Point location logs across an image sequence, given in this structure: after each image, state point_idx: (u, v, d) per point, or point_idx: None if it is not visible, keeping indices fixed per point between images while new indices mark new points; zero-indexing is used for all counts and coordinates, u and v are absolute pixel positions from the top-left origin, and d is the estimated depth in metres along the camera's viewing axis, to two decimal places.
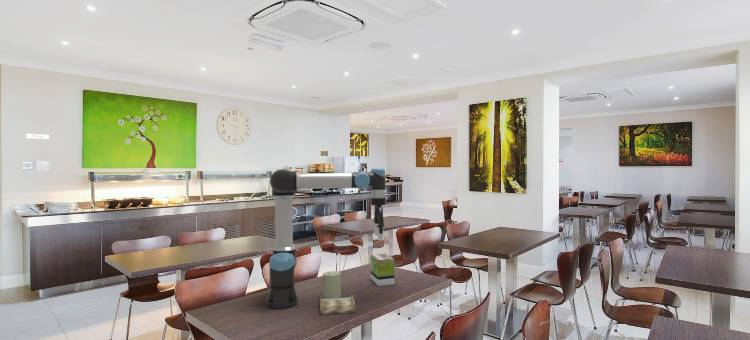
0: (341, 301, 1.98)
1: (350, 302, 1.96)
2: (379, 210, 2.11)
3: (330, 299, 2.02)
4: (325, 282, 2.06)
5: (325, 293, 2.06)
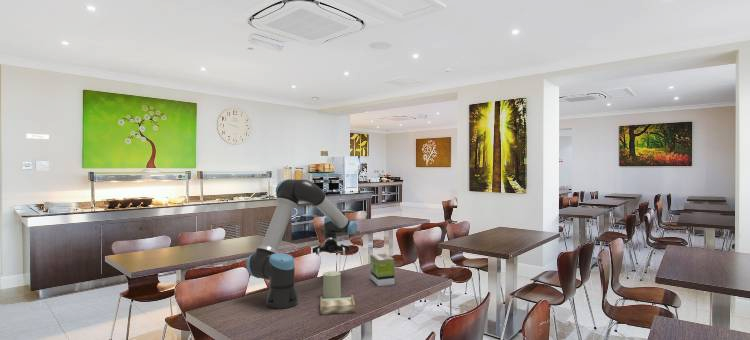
0: (341, 301, 1.98)
1: (350, 302, 1.96)
2: None
3: (330, 299, 2.02)
4: (325, 282, 2.06)
5: (325, 293, 2.06)
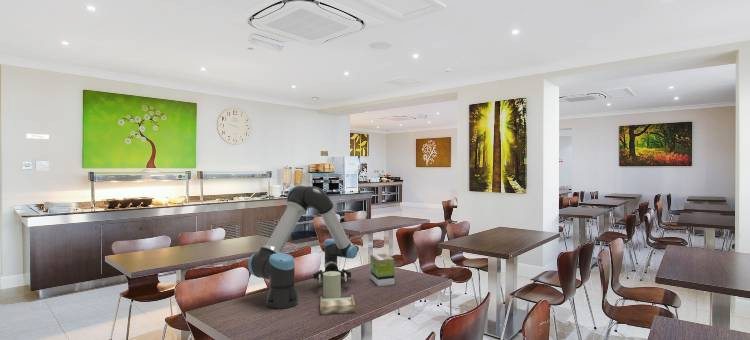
0: (341, 301, 1.98)
1: (350, 302, 1.96)
2: None
3: (330, 299, 2.02)
4: (325, 282, 2.06)
5: (325, 293, 2.06)
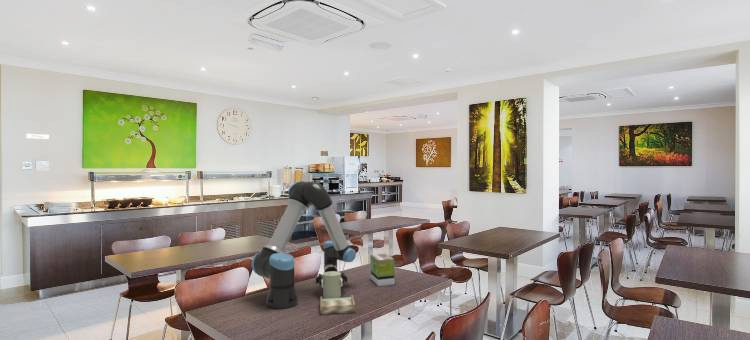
0: (341, 301, 1.98)
1: (350, 302, 1.96)
2: (343, 274, 2.21)
3: (330, 299, 2.02)
4: (325, 282, 2.06)
5: (325, 293, 2.06)
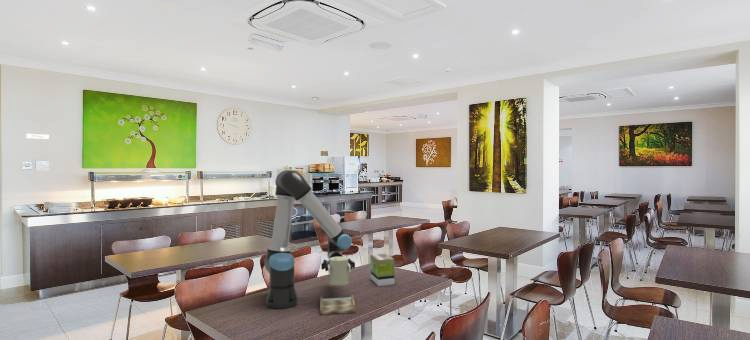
0: (341, 301, 1.98)
1: (350, 302, 1.96)
2: None
3: (330, 299, 2.02)
4: (332, 267, 1.92)
5: (332, 279, 1.92)
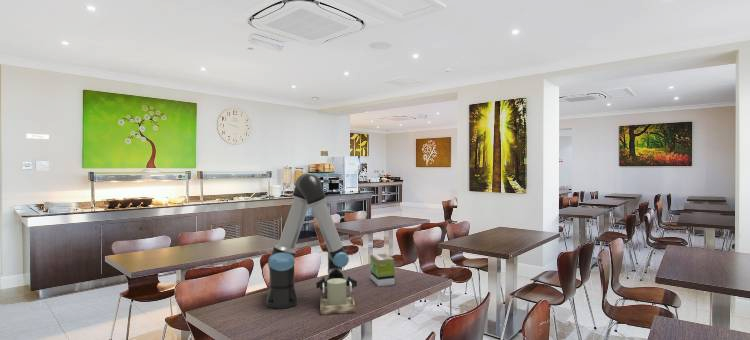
0: None
1: (350, 302, 1.96)
2: None
3: None
4: (329, 290, 1.89)
5: (329, 302, 1.89)
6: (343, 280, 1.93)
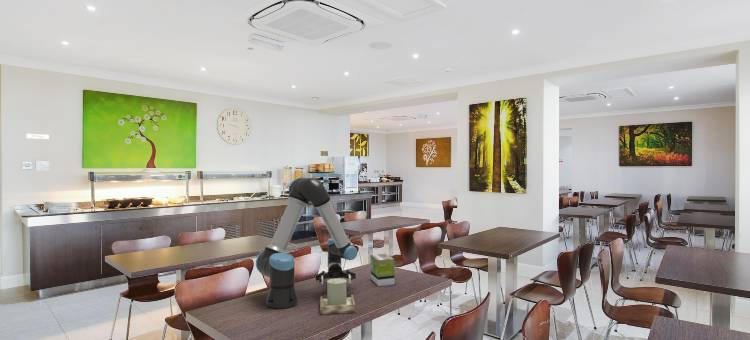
0: None
1: (350, 302, 1.96)
2: None
3: None
4: (329, 290, 1.89)
5: (329, 302, 1.89)
6: (343, 280, 1.93)
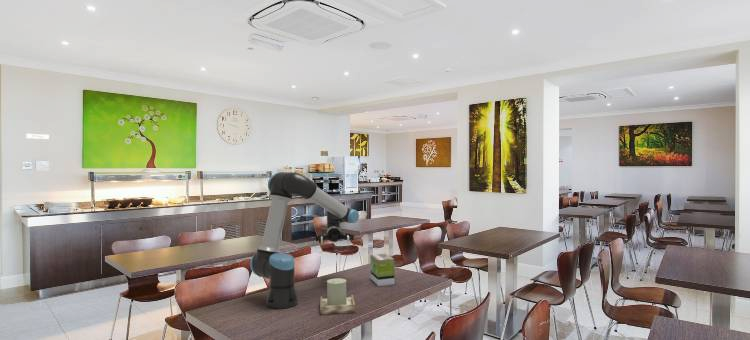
0: None
1: (350, 302, 1.96)
2: (346, 234, 2.26)
3: None
4: (329, 290, 1.89)
5: (329, 302, 1.89)
6: (343, 280, 1.93)
